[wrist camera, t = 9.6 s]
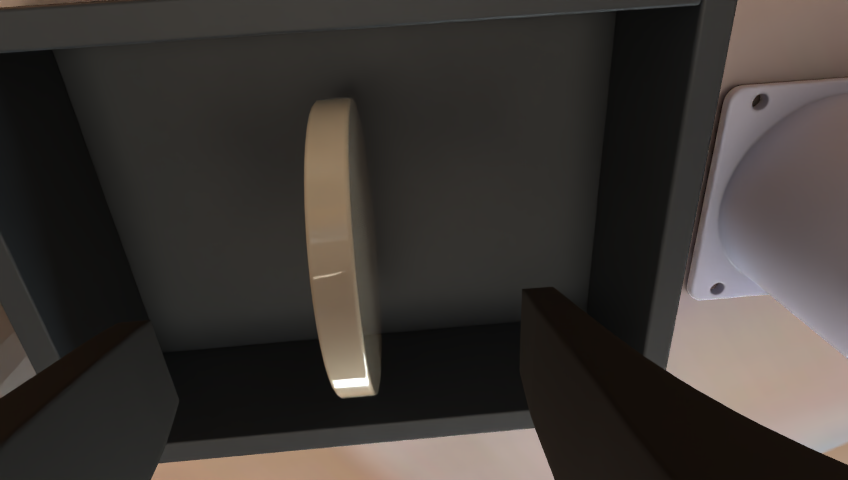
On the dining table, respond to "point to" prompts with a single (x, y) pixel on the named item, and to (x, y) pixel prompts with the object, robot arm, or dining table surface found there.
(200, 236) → the dark grey open box
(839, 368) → the dining table surface
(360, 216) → the saucer
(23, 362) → the coffee cup
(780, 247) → the robot arm
